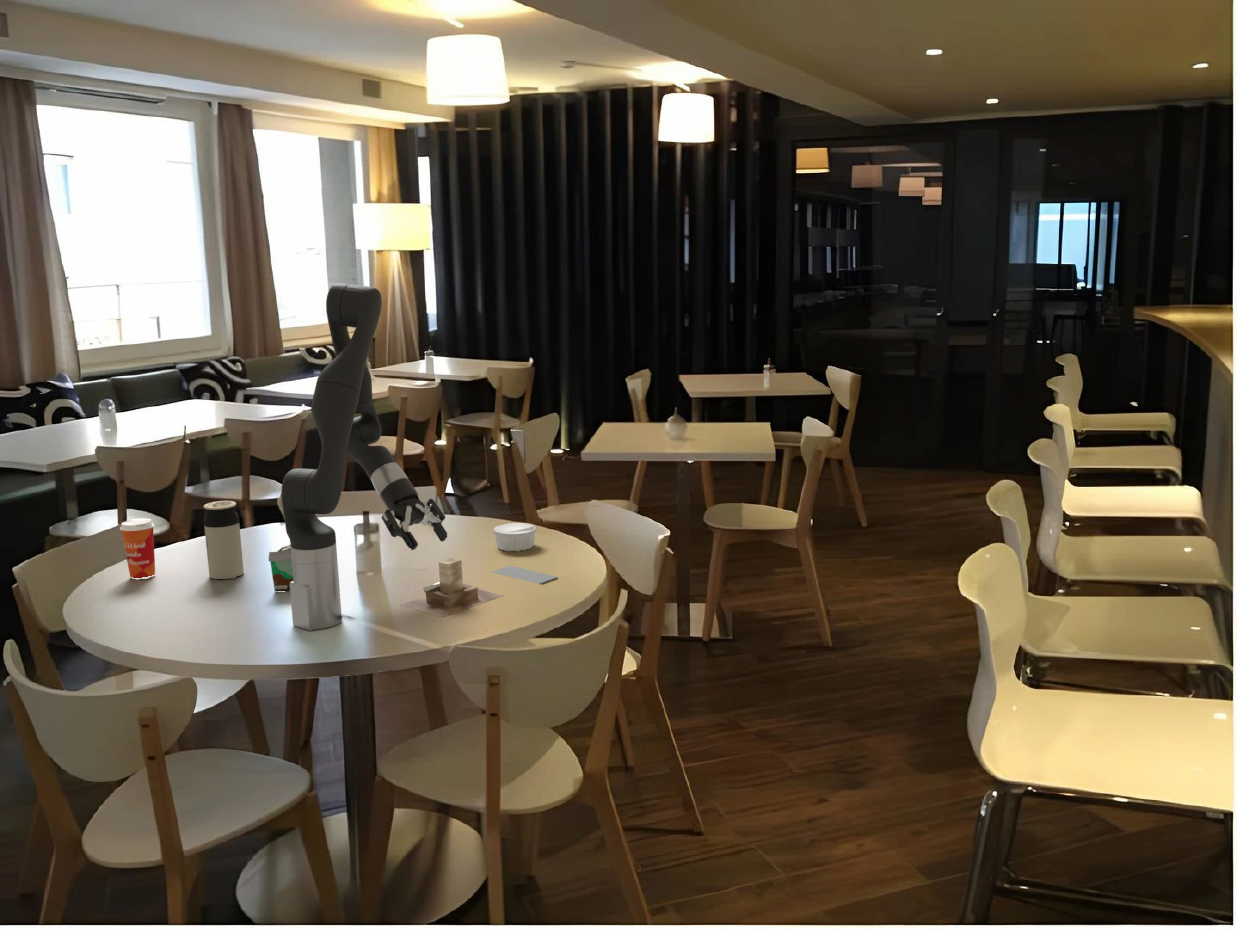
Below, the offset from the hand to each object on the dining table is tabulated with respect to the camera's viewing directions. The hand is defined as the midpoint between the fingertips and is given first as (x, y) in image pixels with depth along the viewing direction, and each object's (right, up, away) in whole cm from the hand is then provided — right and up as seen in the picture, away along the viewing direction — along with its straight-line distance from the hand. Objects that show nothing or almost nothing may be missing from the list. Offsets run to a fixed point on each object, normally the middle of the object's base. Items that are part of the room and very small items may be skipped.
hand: (430, 543), depth 240 cm
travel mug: (-54, -10, +24) cm, 60 cm away
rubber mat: (+16, -10, +14) cm, 23 cm away
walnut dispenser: (+5, -13, -2) cm, 14 cm away
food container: (-34, -11, +14) cm, 38 cm away
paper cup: (-75, -10, +24) cm, 79 cm away
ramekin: (+15, -4, +44) cm, 47 cm away
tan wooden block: (+5, -12, -2) cm, 14 cm away
